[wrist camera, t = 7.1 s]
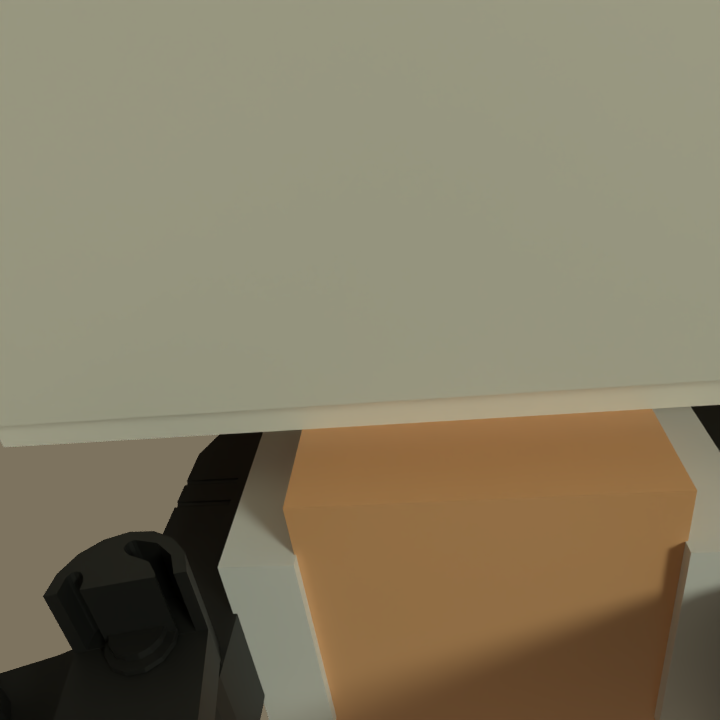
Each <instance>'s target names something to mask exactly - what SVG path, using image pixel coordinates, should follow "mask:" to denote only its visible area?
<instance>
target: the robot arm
mask: <svg viewBox="0 0 720 720" xmlns="http://www.w3.org/2000/svg"><path fill="white" fill-rule="evenodd" d="M652 410H653V412H654V413H655V415H656V417H657V419H658V421H659V422H660V424H661V426H662V428H663V430H664V431H665V433H666V435H667V437H668V439H669V440H670V442H671V444H672V446H673V448H674V449H675V451H676V453H677V455H678V457H679V458H680V460H681V462H682V464H683V466H684V467H685V469H686V471H687V473H688V475H689V476H690V478H691V480H692V482H693V484H694V485H695V487H696V489H697V495H696V500H695V506H694V511H693V517H692V522H691V528H690V533H689V539H688V541H686V542H685V548H684V553H683V559H682V564H681V570H680V575H679V581H678V587H677V592H676V598H675V603H674V609H673V614H672V620H671V626H670V631H669V637H668V642H667V648H666V653H665V659H664V665H663V670H662V676H661V681H660V687H659V692H658V698H657V704H656V709H655V715H654V717H655V720H720V405H707V406H690V407H673V408H656V409H652ZM301 432H302V430H286V431H269V432H252V433H235V434H220V435H219V436H218V437H216V438H215V439H214V441H212V442H211V443H210V444H209V445H208V447H206V448H205V449H204V450H203V451H202V452H201V453H200V454H199V456H198V458H197V460H196V462H195V464H194V467H193V469H192V471H191V473H190V475H189V478H188V480H187V482H188V484H187V485H186V486H184V489H183V491H182V493H181V495H180V497H179V500H178V507H177V508H174V511H173V513H172V515H171V517H170V519H169V522H168V524H167V526H166V528H165V531H164V533H163V534H160V533H157V532H154V531H149V532H128V533H125V534H122V535H118V536H115V537H112V538H109V539H105V540H103V541H101V542H99V543H97V544H96V545H94V546H92V547H90V548H89V549H87V550H85V551H83V552H82V553H80V554H78V555H77V556H76V557H75V558H74V559H73V560H72V561H71V562H69V564H67V565H66V566H65V567H64V568H63V569H62V570H61V571H60V572H59V573H58V574H57V575H56V576H55V578H54V580H53V581H52V583H51V584H50V586H49V588H48V589H47V591H46V593H45V594H44V596H43V597H44V599H45V601H46V602H47V604H48V606H49V608H50V610H51V611H52V613H53V615H54V617H55V619H56V620H57V622H58V624H59V626H60V628H61V629H62V631H63V633H64V635H65V637H66V638H67V640H68V642H69V644H70V646H71V647H72V649H73V650H70V651H68V652H66V653H63V654H61V655H58V656H55V657H52V658H48V659H45V660H42V661H39V662H36V663H32V664H29V665H26V666H23V667H19V668H16V669H13V670H10V671H7V672H3V673H0V720H260V717H261V713H262V708H263V703H264V705H265V708H266V711H267V714H268V717H269V720H336V713H335V709H334V705H333V701H332V697H331V693H330V689H329V685H328V681H327V677H326V673H325V669H324V665H323V661H322V657H321V653H320V649H319V645H318V641H317V637H316V633H315V629H314V625H313V621H312V617H311V613H310V609H309V605H308V601H307V597H306V593H305V589H304V585H303V581H302V577H301V573H300V569H299V565H298V561H297V557H296V555H294V552H293V548H292V544H291V540H290V536H289V532H288V528H287V524H286V520H285V516H284V512H283V505H284V501H285V497H286V493H287V489H288V485H289V481H290V477H291V473H292V469H293V465H294V461H295V457H296V452H297V448H298V444H299V440H300V436H301Z"/></svg>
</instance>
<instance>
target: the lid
mask: <svg viewBox="0 0 720 720" xmlns="http://www.w3.org/2000/svg"><path fill="white" fill-rule="evenodd" d="M707 405H720V0H0V441H1V443H2V444H3V447H16V446H32V445H49V444H66V443H83V442H100V441H115V440H116V441H117V440H134V439H151V438H167V437H183V436H201V435H218V434H235V433H252V432H269V431H286V430H302V432H301V436H300V440H299V444H298V448H297V452H296V457H295V461H294V465H293V469H292V473H291V477H290V481H289V485H288V489H287V493H286V497H285V501H284V505H283V512H284V516H285V520H286V524H287V528H288V532H289V536H290V540H291V544H292V548H293V552H294V555H296V557H297V561H298V565H299V569H300V573H301V577H302V581H303V585H304V589H305V593H306V597H307V601H308V605H309V609H310V613H311V617H312V621H313V625H314V629H315V633H316V637H317V641H318V645H319V649H320V653H321V657H322V661H323V665H324V669H325V673H326V677H327V681H328V685H329V689H330V693H331V697H332V701H333V705H334V709H335V713H336V720H655V717H654V715H655V709H656V704H657V698H658V692H659V687H660V681H661V676H662V670H663V665H664V659H665V653H666V648H667V642H668V637H669V631H670V626H671V620H672V614H673V609H674V603H675V598H676V592H677V587H678V581H679V575H680V570H681V564H682V559H683V553H684V548H685V542H686V541H688V539H689V533H690V528H691V522H692V517H693V511H694V506H695V500H696V495H697V489H696V487H695V485H694V484H693V482H692V480H691V478H690V476H689V475H688V473H687V471H686V469H685V467H684V466H683V464H682V462H681V460H680V458H679V457H678V455H677V453H676V451H675V449H674V448H673V446H672V444H671V442H670V440H669V439H668V437H667V435H666V433H665V431H664V430H663V428H662V426H661V424H660V422H659V421H658V419H657V417H656V415H655V413H654V412H653V410H652V409H656V408H673V407H690V406H707Z"/></svg>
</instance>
